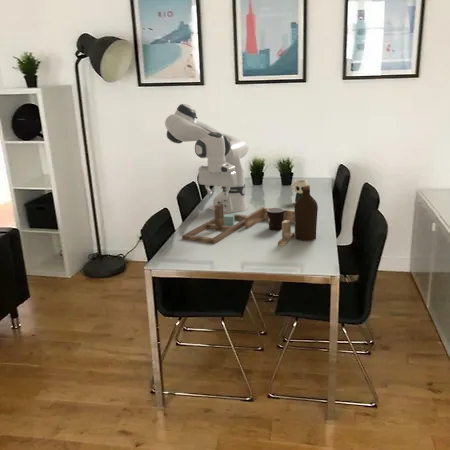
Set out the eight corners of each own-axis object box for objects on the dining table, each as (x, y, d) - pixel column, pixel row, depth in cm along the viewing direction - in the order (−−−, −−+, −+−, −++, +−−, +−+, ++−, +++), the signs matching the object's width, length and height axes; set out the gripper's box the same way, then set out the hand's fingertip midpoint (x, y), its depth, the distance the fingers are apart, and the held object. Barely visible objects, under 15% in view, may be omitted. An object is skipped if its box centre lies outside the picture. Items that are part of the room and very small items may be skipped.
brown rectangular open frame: (182, 240, 245) (180, 214, 241) (224, 217, 279) (223, 193, 275) (214, 245, 237) (213, 218, 233) (253, 220, 271) (253, 196, 267)
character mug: (290, 204, 299) (290, 182, 295) (291, 201, 306) (291, 179, 302) (309, 204, 297) (310, 182, 293) (310, 201, 304) (310, 179, 300)
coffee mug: (283, 232, 251) (283, 212, 248) (266, 231, 253) (265, 212, 250) (285, 225, 262) (285, 206, 259) (268, 224, 263) (268, 205, 260)
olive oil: (311, 243, 234) (311, 190, 226) (290, 240, 240) (290, 187, 232) (321, 237, 242) (322, 185, 234) (300, 233, 248) (301, 183, 240)
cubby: (245, 228, 258) (244, 217, 257) (262, 217, 275) (261, 207, 273) (297, 235, 245) (297, 223, 243) (312, 223, 262) (312, 212, 260)
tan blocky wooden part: (277, 246, 232) (277, 225, 229) (289, 237, 244) (289, 217, 240) (283, 247, 231) (283, 226, 228) (294, 237, 242) (294, 217, 239)
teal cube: (223, 226, 264) (223, 216, 263) (225, 223, 269) (224, 214, 268) (233, 226, 264) (233, 216, 262) (234, 223, 268) (234, 214, 267)
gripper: (195, 166, 251) (196, 194, 255) (232, 169, 241) (233, 197, 245) (201, 164, 256) (203, 191, 260) (238, 166, 246) (239, 194, 250)
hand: (218, 194), depth 252 cm, fingers open, 8 cm apart
